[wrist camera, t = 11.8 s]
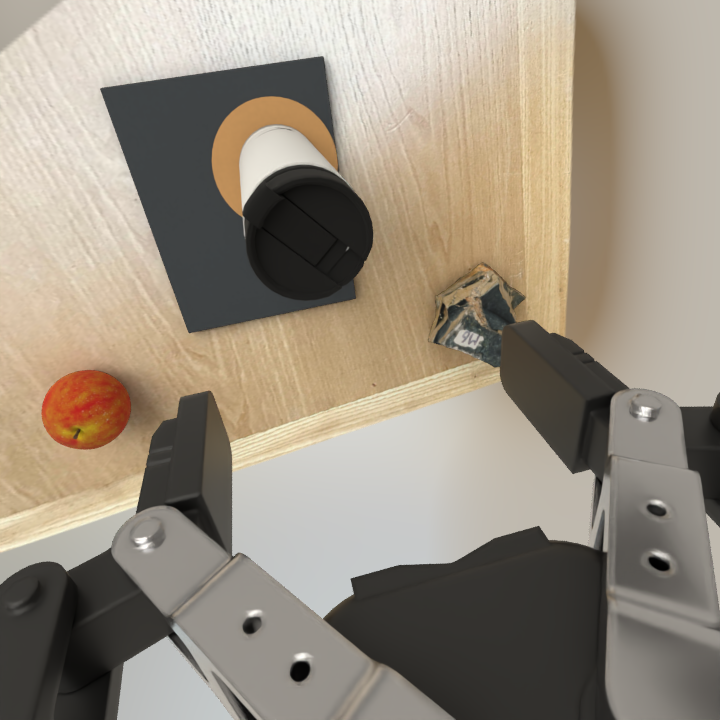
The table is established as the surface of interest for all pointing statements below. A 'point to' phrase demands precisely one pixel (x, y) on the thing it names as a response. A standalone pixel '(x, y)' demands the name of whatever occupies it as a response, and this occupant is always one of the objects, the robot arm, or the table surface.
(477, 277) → the rock
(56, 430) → the fruit
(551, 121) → the table surface
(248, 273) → the mat
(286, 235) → the travel mug
